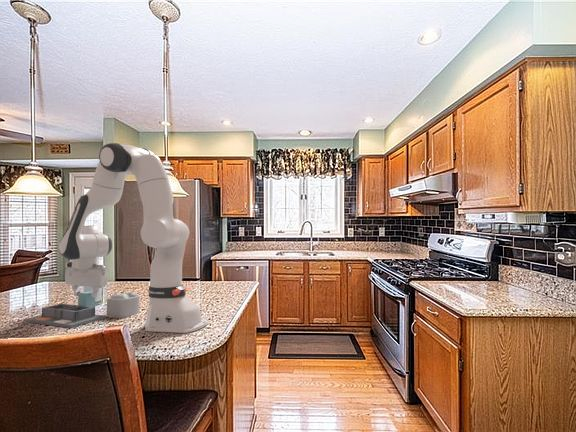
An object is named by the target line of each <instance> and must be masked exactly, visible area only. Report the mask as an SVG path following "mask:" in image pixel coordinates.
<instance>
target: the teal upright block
mask: <svg viewBox="0 0 576 432" xmlns="http://www.w3.org/2000/svg"><path fill="white" fill-rule="evenodd" d="M91 293H93V292H90V291H87V292H84V291H82V292H81V291H80V293H78V296H77V305H78V306H88V307H95V308H96V305H95V298H92V297H91Z"/></svg>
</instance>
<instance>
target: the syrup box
mask: <svg viewBox="0 0 576 432" xmlns="http://www.w3.org/2000/svg"><path fill="white" fill-rule="evenodd" d="M87 291H90V292H93V291H94V289H93V287H89V286H83V292H87ZM101 304H104V287H100V289H99V291H98V293H97V297H95V306H98V305H101Z"/></svg>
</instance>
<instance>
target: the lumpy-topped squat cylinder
mask: <svg viewBox="0 0 576 432" xmlns="http://www.w3.org/2000/svg"><path fill="white" fill-rule="evenodd" d="M140 299H141V297H140V294H139V293H137V292H136V291H124V292H123V293H122V292H118V291H117V292H114V294H113V295H111V296H110V297H109V296H108V297H107V299H106V317H107V318H118V319H120V318H121V319H122V318H124V319H125V318H128V317H132V316H135V315H138V314H139V313H140V308H141V307H140V305H141V303H140V301H141V300H140Z"/></svg>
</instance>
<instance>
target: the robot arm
mask: <svg viewBox="0 0 576 432" xmlns="http://www.w3.org/2000/svg"><path fill="white" fill-rule="evenodd" d="M98 156H99V157H98V160H99V162H98V163H97V166H96V169H95V172H94V175H93V178H92V184H91V187H90V188H89V190H88V192H86V193H85V194H83V195H81V196H80V197H79V199H78V201H77V203H76V204H75V207H74V209H73V213H72V215H71V218H70V220H69V222H68V225H67V228H66V230H65V232H64V234H63V235H62V238H61V240H60V241H59V246H58V252H59V254H60V255H61V256H62V257H63V258H64V259H66V260H69V261H68V262H66V263H65V268H66V269H65V272H64V273H65V274H64V282H65V285H66V286H67V285H70V286H72V287H71V288H72V290H73V295H74V296H76V297H78V293H81V290H80V289H79V287H84V286H89V287H93V289H94V291H93V293H91V297H92V298H95V297H97V293H98V291H99V289H100V287H103V288H104V287H106V286H107V285H108V274H107V271H106V270H107V269H106V267H105V266H104V265H103V264H99V261H100V260H99V258H102V257H103V258H104V257H107V256H108V255H109V254H110V253H111V251H112V249H113V240H112V239H111V237H109V235H107V234H105V233H102V232H101V231H100V230H99V227H98V226H95V225H85V223H86V220H87V218H88V217H89V216H90V215H91V214H93V213H95V212H97V211H100V210H104V209H107V208H110V207H112V206H115V205H117V203H119V202H120V200H121V198H122V196H123V192H124V188H125V187H124V185H125V180H126V178H127V176H129V175H133V176H134V177H135V180H136V183H137V189H138V192H139V195H140V201H141V203H142V211H143V225H142V227H141V228H140V238H141V241H142V242H143V244H145V245H146V246H148V247H149V248H150V247H151V248H153V249H155V254H154V256H153V258H152V259H153V260H152V261H151V264H150V269H149V270H150V271H149V272H150V273H149V276H150V277H149V279H150V280H149V281H150V282H149V286H148V292H147V293H148V297H149V298H148V299H149V302H148V309H147V315H146V319H145V322H144V328H145V332H156V333H157V332H158V333H173V334H175V333H177V334H178V333H179V334H180V333H181V334H186V333H192V332H195V331H199V330H200V329H202V328H205V327H206V326H207V325H208V320H207V319H202V312H201V308H200V307H199V305H197V304H196V303H195V302H194V301H193V300H192V299H191V298H189V297H188V296H187V294H186V292H188V291H189V287H184V285H183V261H184V256H185V252H186V247H187V246H186V245H187V241H188V239H189V237H190V229H189V226H188V225H187V224H186V223H184V222H183V221H182V220H181V219H179V218H178V219H177V218H175V217H174V208H173V206H174V201H175V199H174V194H173V191H172V188H171V185H170V180H169V177H168V174H167V171H166V169H165V166H164V164H163V162H162V160H161V158H160V157H159V156H157V155H156V154H155V153H154V152H152V151H151V150H149V149H147V148H145V147H139V146H135V145H132V144H124V143H121V144H120V143H118V142H112V143H106V144H104V145H103V146H102V147H101V148H100V151H99V154H98Z"/></svg>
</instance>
